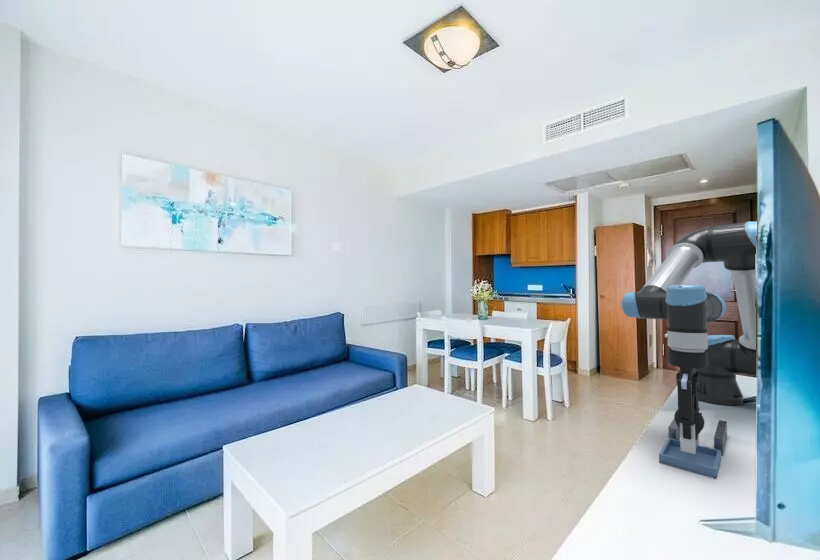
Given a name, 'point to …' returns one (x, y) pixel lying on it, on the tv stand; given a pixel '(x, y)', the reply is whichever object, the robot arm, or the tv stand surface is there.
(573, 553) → the tv stand surface
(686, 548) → the tv stand surface
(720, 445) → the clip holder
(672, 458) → the parts tray
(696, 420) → the black round speckled part
